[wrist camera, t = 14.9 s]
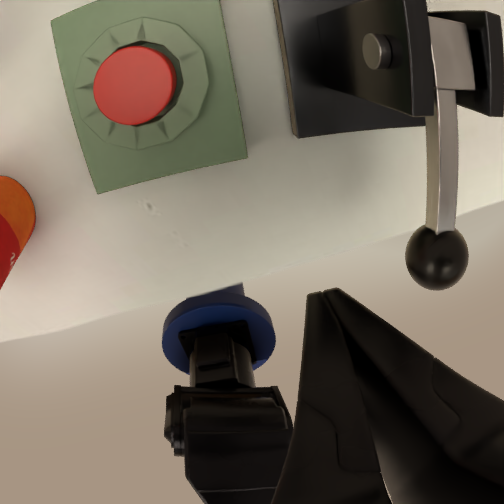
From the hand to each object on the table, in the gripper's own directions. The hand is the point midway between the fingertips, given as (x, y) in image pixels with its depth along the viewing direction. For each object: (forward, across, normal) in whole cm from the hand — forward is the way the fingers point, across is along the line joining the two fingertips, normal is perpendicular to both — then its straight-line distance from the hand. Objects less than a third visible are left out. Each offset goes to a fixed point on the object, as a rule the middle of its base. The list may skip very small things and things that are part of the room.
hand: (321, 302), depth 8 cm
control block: (+13, +5, -6) cm, 15 cm away
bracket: (+13, -7, -6) cm, 16 cm away
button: (+10, +5, -6) cm, 13 cm away
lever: (+6, -7, -1) cm, 9 cm away
